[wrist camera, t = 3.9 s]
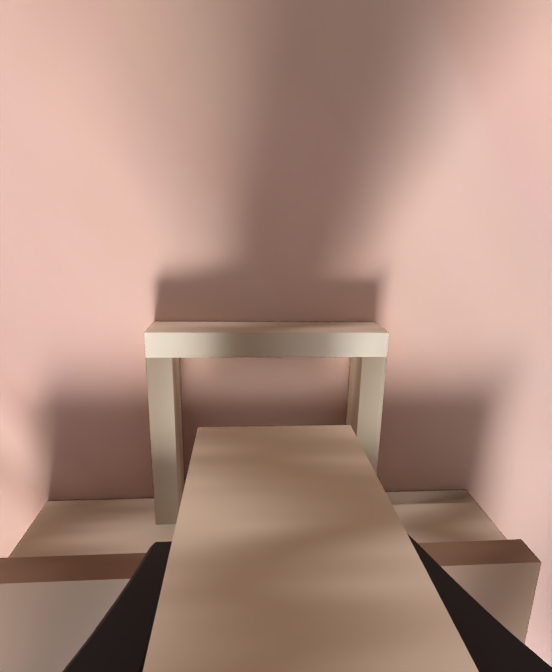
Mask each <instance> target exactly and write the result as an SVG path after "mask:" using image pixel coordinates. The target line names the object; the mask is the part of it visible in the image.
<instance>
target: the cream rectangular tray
mask: <svg viewBox="0 0 552 672" xmlns="http://www.w3.org/2000/svg"><path fill="white" fill-rule="evenodd" d="M144 337H145V354H146V371H147V388H148V405H149V422H150V439H151V456H152V473H153V490H154V498H146V499H109V500H72V501H47V503H46V504H45V506H44V507H43V508H42V510H41V511H40V513H39V514H38V516H37V517H36V518H35V520H34V521H33V523H32V524H31V526H30V527H29V529H28V530H27V531H26V533H25V534H24V536H23V537H22V539H21V540H20V541H19V543H18V544H17V546H16V547H15V549H14V550H13V551H12V553H11V554H10V556H9V557H8V558H14V557H42V556H70V555H98V554H126V553H147V551H148V550H149V548H150V547H151V546H152V545H153V544H154V543H155V542H168V541H172V539H173V535H174V531H175V526H176V522H177V517H178V513H179V508H180V504H181V500H182V495H183V491H184V464H183V438H182V412H181V386H180V360H179V358H213V357H350V372H349V388H348V403H347V419H346V425H351V427H352V429H353V431H354V433H355V435H356V437H357V438H358V440H359V442H360V444H361V446H362V448H363V450H364V452H365V454H366V456H367V458H368V460H369V462H370V463H371V465H372V467H373V469H374V471H375V473H376V475H377V465H378V454H379V442H380V431H381V419H382V408H383V396H384V384H385V373H386V361H387V350H388V338H389V332H387V331H386V330H385V329H384V328H382V327H381V326H380V325H378V324H377V323H376V322H153V323H152V324H151V325H150V327H149V328H148V329H147V330H146V331H145V332H144ZM386 494H387V496H388V498H389V500H390V502H391V504H392V506H393V508H394V510H395V511H396V513H397V515H398V517H399V519H400V521H401V523H402V525H403V527H404V529H405V531H406V533H407V534H409V535H410V536H411V537H412V538H413V539H414V540H415V541H416V542H417V543H433V542H460V541H488V540H507V539H506V537H505V536H504V535H503V534H502V533H501V531H500V530H499V529H498V528H497V526H496V525H495V524H494V523H493V522H492V520H491V519H490V518H489V517H488V516H487V514H486V513H485V512H484V511H483V510H482V508H481V507H480V506H479V505H478V503H477V502H476V501H475V500H474V499H473V497H472V496H471V495H470V494H469V493H468V491H467V490H444V491H407V492H386Z"/></svg>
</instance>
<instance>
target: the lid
mask: <svg viewBox="0 0 552 672" xmlns="http://www.w3.org/2000/svg"><path fill="white" fill-rule="evenodd" d="M418 544H419V545H420V546H421V547H422V548H423V549H424V550H425V551H426V552H427V553H428V554H429V555H430V556H431V557H432V558H433V559H434V560H435V561H436V562H437V563H438V564H439V565H440V566H441V567H442V568H443V569H444V570H445V571H446V572H447V573H448V574H449V575H450V576H451V577H452V578H453V579H454V580H455V581H456V582H457V583H458V584H459V585H460V586H461V587H462V588H463V589H464V590H465V591H466V592H467V593H468V594H469V595H471V596H472V597H473V598H474V599H475V600H476V601H477V602H478V603H479V604H480V605H481V606H482V607H483V608H484V609H485V610H486V611H488V612H489V613H490V614H491V615H492V616H493V617H494V618H495V619H496V620H497V621H498V622H500V623H501V624H502V625H503V626H504V627H505V628H506V629H507V630H509V631H510V632H511V633H512V634H513V635H514V636H515V637H516V638H518V639H519V640H520V641H521V642H522V643H523V644H525V639H526V634H527V629H528V624H529V619H530V614H531V609H532V605H533V600H534V595H535V590H536V585H537V580H538V575H539V570H540V566H541V561H540V560H539V559H538V558H537V557H536V556H535V554H534V553H533V552H532V551H531V550H530V549H529V548H528V546H527V545H526V544H525V543H524V542H523V541H522V540H521V539H516V540H488V541H460V542H433V543H418ZM145 555H146V553H126V554H98V555H70V556H42V557H14V558H0V672H62V671H63V670H64V669H65V667H66V666H67V665H68V664H69V662H70V661H71V660H72V659H73V657H74V656H75V655H76V654H77V652H78V651H79V650H80V648H81V647H82V646H83V645H84V643H85V642H86V641H87V639H88V638H89V637H90V635H91V634H92V633H93V631H94V630H95V629H96V627H97V626H98V624H99V623H100V622H101V620H102V619H103V617H104V616H105V615H106V613H107V612H108V611H109V609H110V608H111V606H112V605H113V604H114V602H115V601H116V599H117V598H118V596H119V595H120V593H121V592H122V590H123V589H124V588H125V586H126V585H127V583H128V582H129V580H130V579H131V577H132V575H133V574H134V572H135V571H136V569H137V568H138V566H139V564H140V563H141V561H142V560H143V558H144V556H145Z"/></svg>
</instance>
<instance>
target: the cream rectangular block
mask: <svg viewBox="0 0 552 672" xmlns="http://www.w3.org/2000/svg"><path fill="white" fill-rule="evenodd" d="M143 672H479V671H478V669H477V667H476V665H475V663H474V661H473V659H472V658H471V656H470V654H469V652H468V650H467V648H466V646H465V644H464V642H463V640H462V638H461V636H460V634H459V633H458V631H457V629H456V627H455V625H454V623H453V621H452V619H451V617H450V615H449V613H448V611H447V609H446V608H445V606H444V604H443V602H442V600H441V598H440V596H439V594H438V592H437V590H436V588H435V586H434V585H433V583H432V581H431V579H430V577H429V575H428V573H427V571H426V569H425V567H424V565H423V563H422V561H421V560H420V558H419V556H418V554H417V552H416V550H415V548H414V546H413V544H412V542H411V540H410V538H409V536H408V535H407V533H406V531H405V529H404V527H403V525H402V523H401V521H400V519H399V517H398V515H397V513H396V511H395V510H394V508H393V506H392V504H391V502H390V500H389V498H388V496H387V494H386V492H385V490H384V488H383V486H382V485H381V483H380V481H379V479H378V477H377V475H376V473H375V471H374V469H373V467H372V465H371V463H370V462H369V460H368V458H367V456H366V454H365V452H364V450H363V448H362V446H361V444H360V442H359V440H358V438H357V437H356V435H355V433H354V431H353V429H352V427H351V425H315V426H245V427H198V429H197V433H196V438H195V442H194V446H193V451H192V455H191V460H190V464H189V469H188V473H187V477H186V482H185V486H184V491H183V495H182V500H181V504H180V508H179V513H178V517H177V522H176V526H175V531H174V535H173V539H172V544H171V548H170V553H169V557H168V561H167V566H166V570H165V575H164V579H163V584H162V588H161V592H160V597H159V601H158V606H157V610H156V615H155V619H154V623H153V628H152V632H151V637H150V641H149V646H148V650H147V654H146V659H145V663H144V668H143Z"/></svg>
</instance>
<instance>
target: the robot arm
mask: <svg viewBox="0 0 552 672" xmlns="http://www.w3.org/2000/svg"><path fill="white" fill-rule="evenodd" d="M407 535H408V536H409V538H410V540H411V542H412V544H413V546H414V548H415V550H416V552H417V554H418V556H419V558H420V560H421V561H422V563H423V565H424V567H425V569H426V571H427V573H428V575H429V577H430V579H431V581H432V583H433V585H434V586H435V588H436V590H437V592H438V594H439V596H440V598H441V600H442V602H443V604H444V606H445V608H446V609H447V611H448V613H449V615H450V617H451V619H452V621H453V623H454V625H455V627H456V629H457V631H458V633H459V634H460V636H461V638H462V640H463V642H464V644H465V646H466V648H467V650H468V652H469V654H470V656H471V658H472V659H473V661H474V663H475V665H476V667H477V669H478V671H479V672H552V667H550V666H549V665H548V664H547V663H546V662H544V661H543V660H542V659H541V658H540V657H539V656H537V655H536V654H535V653H534V652H533V651H532V650H530V649H529V648H528V647H527V646H526V645H525V644H523V643H522V642H521V641H520V640H519V639H518V638H516V637H515V636H514V635H513V634H512V633H511V632H510V631H509V630H507V629H506V628H505V627H504V626H503V625H502V624H501V623H500V622H498V621H497V620H496V619H495V618H494V617H493V616H492V615H491V614H490V613H489V612H488V611H486V610H485V609H484V608H483V607H482V606H481V605H480V604H479V603H478V602H477V601H476V600H475V599H474V598H473V597H472V596H471V595H469V594H468V593H467V592H466V591H465V590H464V589H463V588H462V587H461V586H460V585H459V584H458V583H457V582H456V581H455V580H454V579H453V578H452V577H451V576H450V575H449V574H448V573H447V572H446V571H445V570H444V569H443V568H442V567H441V566H440V565H439V564H438V563H437V562H436V561H435V560H434V559H433V558H432V557H431V556H430V555H429V554H428V553H427V552H426V551H425V550H424V549H423V548H422V547H421V546H420V545H419V544H418V543H417V542H416V541H415V540H414V539H413V538H412V537H411V536H410V535H409V534H407ZM171 544H172V541H168V542H155V543H154V544H153V545H152V546H151V547H150V548H149V550H148V551H147V553H146V555H145V556H144V558H143V560H142V561H141V563H140V564H139V566H138V568H137V569H136V571H135V572H134V574H133V575H132V577H131V579H130V580H129V582H128V583H127V585H126V586H125V588H124V589H123V590H122V592H121V593H120V595H119V596H118V598H117V599H116V601H115V602H114V604H113V605H112V606H111V608H110V609H109V611H108V612H107V613H106V615H105V616H104V617H103V619H102V620H101V622H100V623H99V624H98V626H97V627H96V629H95V630H94V631H93V633H92V634H91V635H90V637H89V638H88V639H87V641H86V642H85V643H84V645H83V646H82V647H81V648H80V650H79V651H78V652H77V654H76V655H75V656H74V657H73V659H72V660H71V661H70V662H69V664H68V665H67V666H66V667H65V669H64V670H63V671H62V672H143V668H144V663H145V659H146V654H147V650H148V646H149V641H150V637H151V632H152V628H153V623H154V619H155V615H156V610H157V606H158V601H159V597H160V592H161V588H162V584H163V579H164V575H165V570H166V566H167V561H168V557H169V553H170V548H171Z"/></svg>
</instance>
